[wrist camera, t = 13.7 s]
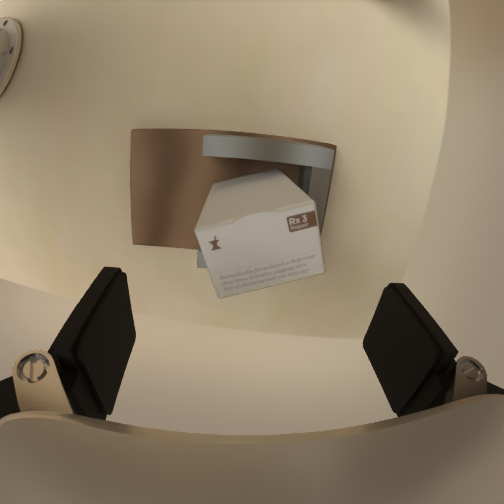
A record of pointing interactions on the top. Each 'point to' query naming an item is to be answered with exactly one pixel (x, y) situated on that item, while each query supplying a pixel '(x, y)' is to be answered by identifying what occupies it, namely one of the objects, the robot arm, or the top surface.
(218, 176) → the u rest
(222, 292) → the skincare box
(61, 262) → the top surface
